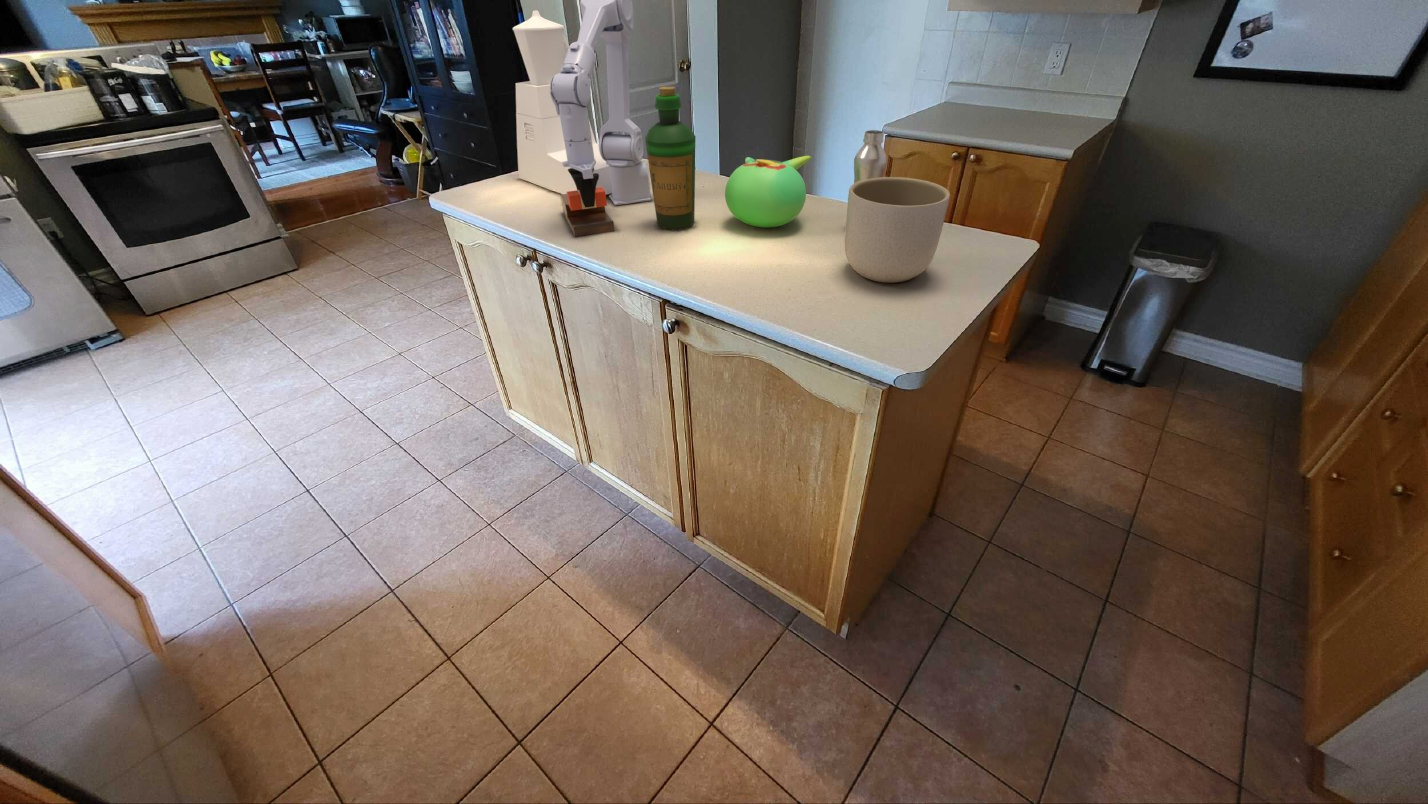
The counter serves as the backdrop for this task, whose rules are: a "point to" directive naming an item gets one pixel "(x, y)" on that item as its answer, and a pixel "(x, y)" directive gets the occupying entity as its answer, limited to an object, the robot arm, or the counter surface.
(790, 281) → the counter surface
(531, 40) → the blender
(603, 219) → the step shelf
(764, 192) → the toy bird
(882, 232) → the planter
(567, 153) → the robot arm
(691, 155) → the bottle
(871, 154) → the silver metal bottle
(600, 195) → the candy bar
